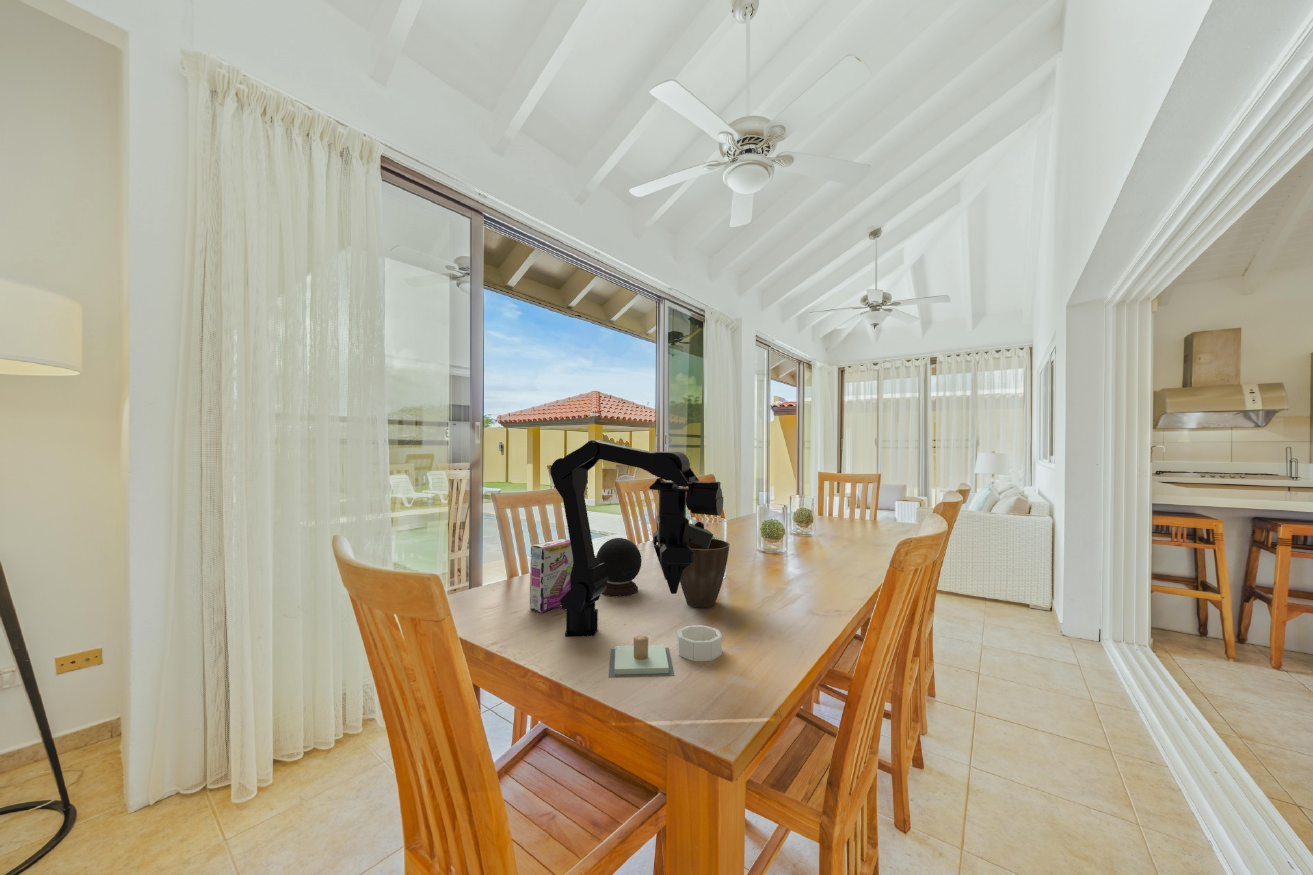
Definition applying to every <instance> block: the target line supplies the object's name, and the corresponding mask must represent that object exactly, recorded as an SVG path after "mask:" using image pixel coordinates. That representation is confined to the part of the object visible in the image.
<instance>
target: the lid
mask: <svg viewBox="0 0 1313 875" xmlns="http://www.w3.org/2000/svg"><path fill="white" fill-rule="evenodd" d="M665 648H666V646H665V644H651V645H650V644H649V637H648V636H647V635H642V634H641V635H635V636H634V637H633V645H615V647H614V649H615V668H614V675H616V674H656V673H669V666H668V661H667V656H666V650H665Z"/></svg>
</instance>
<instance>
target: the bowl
mask: <svg viewBox="0 0 1313 875" xmlns="http://www.w3.org/2000/svg"><path fill="white" fill-rule="evenodd" d="M676 633H677V634H676V640H677V643H676V650H677V654H678V656H679V657H681V658H684V659H686V660H689V661H692V662H710V661H714V660H715V659H717V658H719V657H721V656H722V655H723V654H722V650H723V648H722V642H723V641H722V640H723V638H722V637H723V636H722V633H721V632H720V630H719V629H718V628H714V627H710V626H709V625H701V624H700V625H699V624H698V625H695V624H693V625H686V626H684V627H681V628H680V629H677V632H676Z"/></svg>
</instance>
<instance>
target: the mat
mask: <svg viewBox="0 0 1313 875" xmlns="http://www.w3.org/2000/svg"><path fill="white" fill-rule="evenodd" d="M665 650H666V656H667V661H668V666H669V673H656V674H616V675H614V668H615V648H610V654H609V655H610V656H609V669H608V678H611V679H612V678H613V679H614V678H639V677H640V678H641V677H643V678H644V677H647V678H649V677H675V676H676V675H675V671H674V666H673V661H672V657H671V652H670V647H665Z"/></svg>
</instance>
